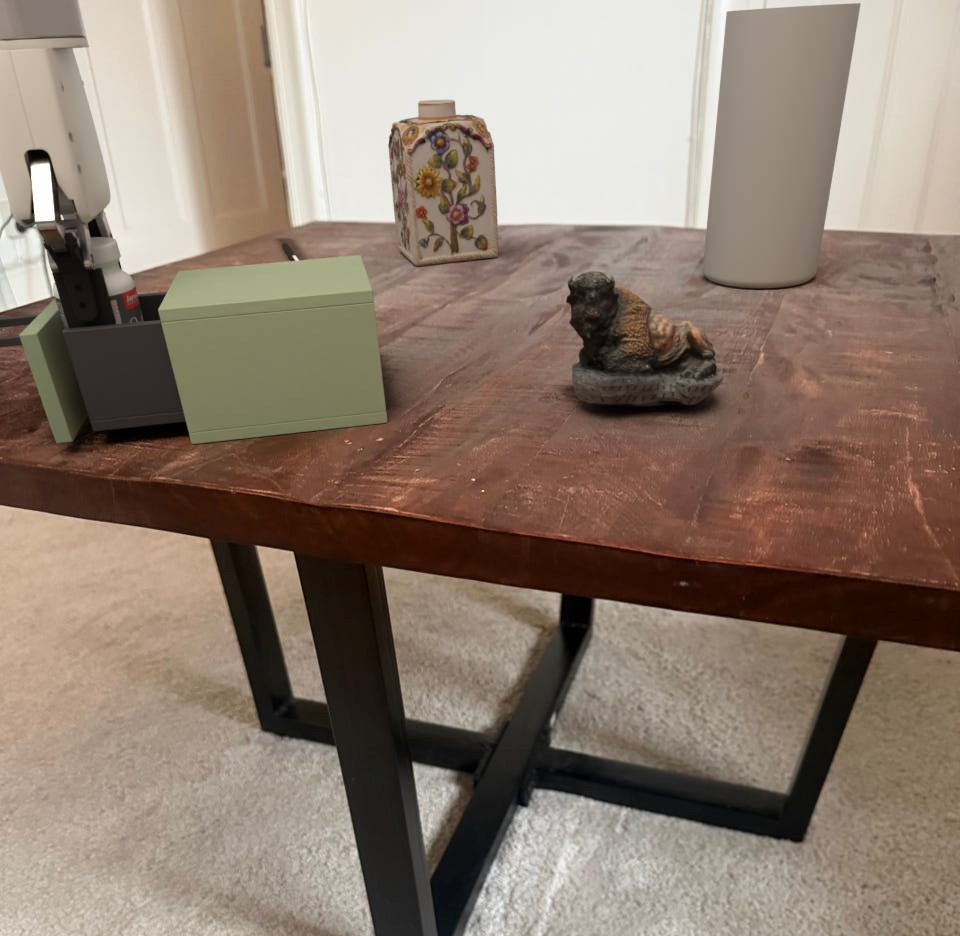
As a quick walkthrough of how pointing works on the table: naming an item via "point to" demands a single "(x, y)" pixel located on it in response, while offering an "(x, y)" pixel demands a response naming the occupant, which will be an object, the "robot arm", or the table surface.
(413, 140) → the decorative jar
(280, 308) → the sage green drawer box
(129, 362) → the pull-out drawer
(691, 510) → the table surface
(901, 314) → the table surface
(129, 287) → the pill bottle
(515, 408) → the table surface
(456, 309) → the table surface
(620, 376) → the bison figurine
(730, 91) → the cylinder vase
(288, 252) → the pen
